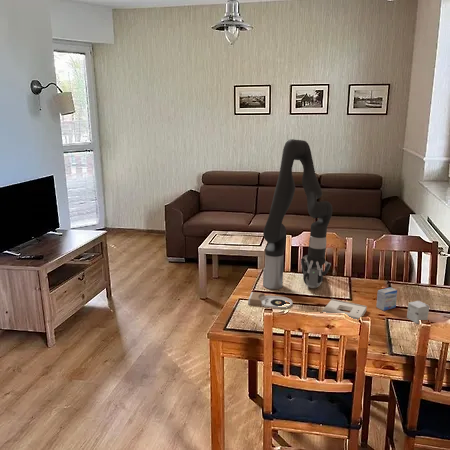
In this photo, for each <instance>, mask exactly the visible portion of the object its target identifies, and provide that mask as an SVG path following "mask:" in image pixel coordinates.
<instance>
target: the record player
mask: <svg viewBox="0 0 450 450" xmlns="http://www.w3.org/2000/svg"><path fill="white" fill-rule="evenodd" d="M285 301H287V302H289V303H290V305H289V306H291V305H292V306H293V303H294V302H293V300H292V299H291V298H288V297H286V296H279V295H270V294H269V295H265V293H264V292H255V291H251V293H250V295H249V297H248V300H247V304H248V305H250V306H258V305H260V306H261V307H263V306H264V308H267V307H273V308H272V309H276V308H286V307H289V306H286V307H278V306H282V305H284V304H286V302H285ZM260 306H259V307H260ZM292 306H291V307H292ZM289 308H290V307H289ZM286 309H287V308H286Z"/></svg>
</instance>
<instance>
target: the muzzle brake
mask: <svg viewBox="0 0 450 450" xmlns="http://www.w3.org/2000/svg"><path fill="white" fill-rule="evenodd" d="M303 257H305V258H307V257H308V254H305V255H304V256H303ZM300 261H301V260H300ZM300 263H301V264H300V265H301V270H302V276H303V282H304V285H306V286H307V287H309V288H311V289H316V288H319V287H320V286H321V285H322V284H323V281H324V275H323V276H322V281H321V282H320V284H319V285H318V286H317V287H315V286H311V285H308V284H309V281H308V279H307V272H306V271H304V269H303V265H302V261H301V262H300ZM309 265H310V264H309V262H308V260H307V266H308V267H309Z"/></svg>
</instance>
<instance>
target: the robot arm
mask: <svg viewBox="0 0 450 450" xmlns="http://www.w3.org/2000/svg"><path fill="white" fill-rule="evenodd" d="M281 154H282V156H281V161H280V169H279V173H278V177H277V182H276V186H275V188H274V193H273V197H272V202H271V206H270V210H269V213H268V217H267V220H266V222H265V225H264V227H263V231H262V232H263V238H264V240H265V241H266V242H267V246H266V247H265V251H264V254H265V255H264V268H263V269H262V287H265V288H266V289H269V290H280V289H282V288H283V286H284V285H283V284H284V283H283V282H284V281H283V280H284V279H283V278H284V258H285V257H284V256H285V255H284V253H285V249H286V241H287V228H286V227H285V225H284V223H283V221H284V217H285V216H286V213H287V212H288V210H289V208H290V206H291V204H292V202H293V200H294V196H295V193H296V192H295V191H296V184H295V180H294V176H293V165H294V162H295V161H300V163H301V165H302V168H303V173H302V178H301V185H302V188H303V191H304V193H305V195H306V202H307V203H306V205H307V213H308V214H309V216H310V217H311V218H313V219H317V220H316V221H313V222H312V223H311V225H310V232H309V240H308V249H307V250H308V251H307V255H308V257H307V258H305V257H304V256H303V257H302V258H301V259H300V261H302V265H303V269H304V271H306V272H307V279H308V281H309V271H310V268H312V267H316V268H317V270H318V271H319V276H318V283H320V282H321V281H322V276H323V277H324V276H326V275H327V274H328V272H329V270H330V268H331V266H332V262H330V261H329V262H328V261H327V260H326V251H327V232H328V226H329V224H330V220H331V218H332V216H333V205H332V204H331V202H329V201H327V200H323V201H322V200H321V201H318V199H320V198H321V197H322V195H323V190H322V187H321V185H320V182H319V180H318V177H317V175H316V171H315V165H314V160H313V155H312V151H311V147H310V145H309V143H308V142H307V141H306V140H301V139H291V138H290V139H288V140H286V142H285V143H284V146H283V149H282V153H281ZM307 260H308V262H309V264H310V265H309V267H308V266H307ZM302 265H301V266H302ZM323 266H325V268H324V267H323Z"/></svg>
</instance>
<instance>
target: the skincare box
mask: <svg viewBox="0 0 450 450" xmlns="http://www.w3.org/2000/svg"><path fill="white" fill-rule="evenodd" d="M407 306H408V307H407V311H406V312H407V313H406V318H407V320H410V321H412V322H414V324H420V323H419V320H427V321H428V320H429V319H428V318H429V310H430V305H428V304H426V303H425V302H422V301H421V300H415V301H410V302H408V305H407Z"/></svg>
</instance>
